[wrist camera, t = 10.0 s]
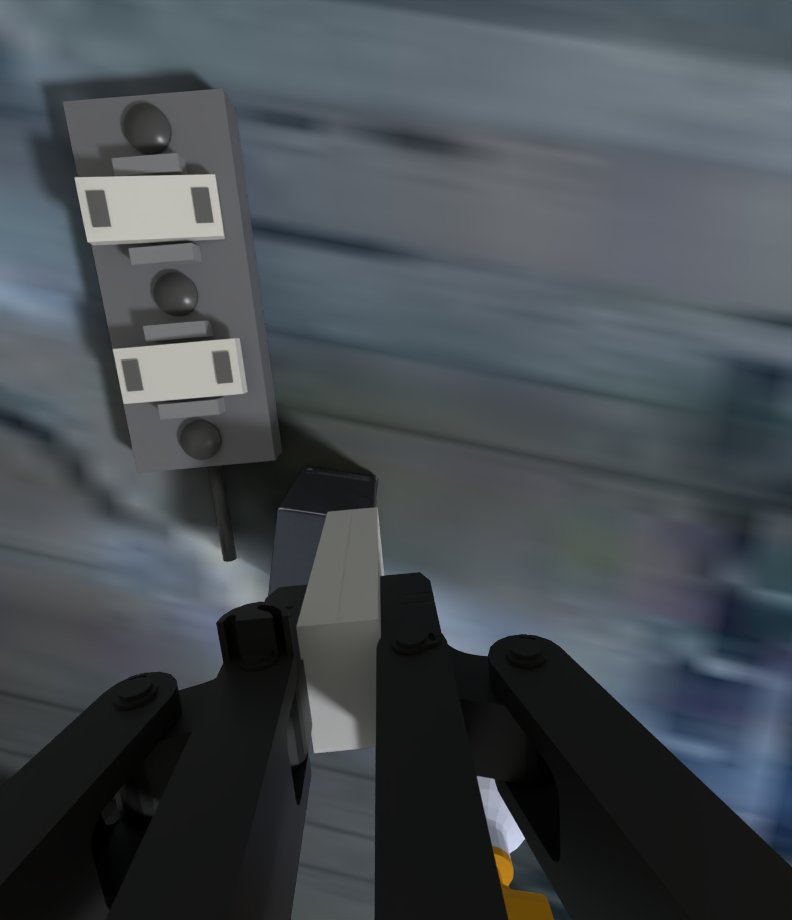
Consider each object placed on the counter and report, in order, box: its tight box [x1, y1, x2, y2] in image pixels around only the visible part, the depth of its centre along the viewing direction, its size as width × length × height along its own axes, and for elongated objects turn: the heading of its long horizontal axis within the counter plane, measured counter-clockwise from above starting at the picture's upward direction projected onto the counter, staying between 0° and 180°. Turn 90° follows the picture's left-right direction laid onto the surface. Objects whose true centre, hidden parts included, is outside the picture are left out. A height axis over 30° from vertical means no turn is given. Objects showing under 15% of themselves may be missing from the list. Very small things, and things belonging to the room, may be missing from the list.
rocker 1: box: [74, 174, 225, 245], centre depth 34 cm, size 8×4×1 cm, turn 95°
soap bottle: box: [477, 776, 554, 920], centre depth 37 cm, size 9×9×25 cm
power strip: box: [63, 89, 282, 562], centre depth 38 cm, size 10×32×5 cm, turn 5°
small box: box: [268, 467, 378, 596], centre depth 39 cm, size 11×6×10 cm, turn 171°
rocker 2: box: [113, 338, 248, 404], centre depth 36 cm, size 8×4×1 cm, turn 95°
